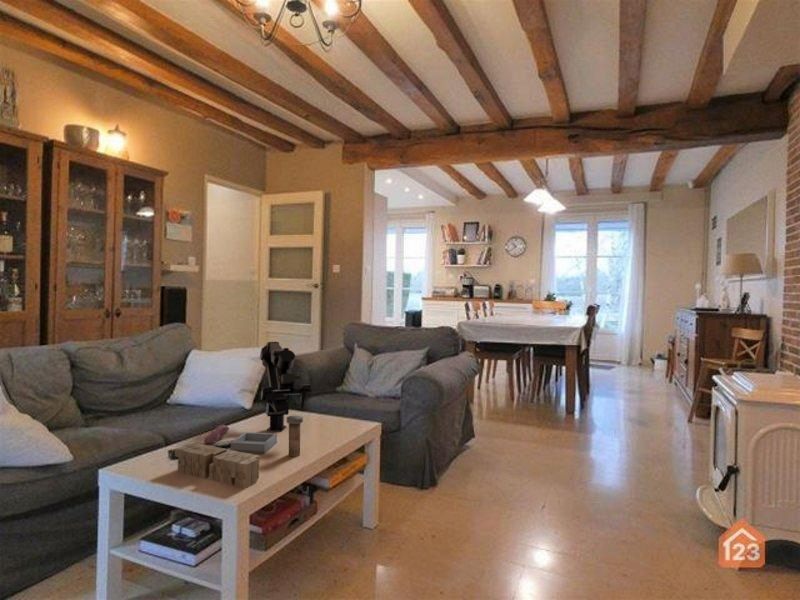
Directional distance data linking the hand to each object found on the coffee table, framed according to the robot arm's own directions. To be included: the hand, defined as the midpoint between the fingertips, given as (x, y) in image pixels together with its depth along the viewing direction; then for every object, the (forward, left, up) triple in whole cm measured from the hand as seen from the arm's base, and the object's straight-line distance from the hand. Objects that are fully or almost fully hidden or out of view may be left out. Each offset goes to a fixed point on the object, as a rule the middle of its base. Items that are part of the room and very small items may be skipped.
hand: (289, 411), depth 179 cm
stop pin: (+7, +4, -14) cm, 16 cm away
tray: (+1, -13, -14) cm, 19 cm away
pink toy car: (-4, -30, -14) cm, 34 cm away
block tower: (+29, -14, -14) cm, 35 cm away
